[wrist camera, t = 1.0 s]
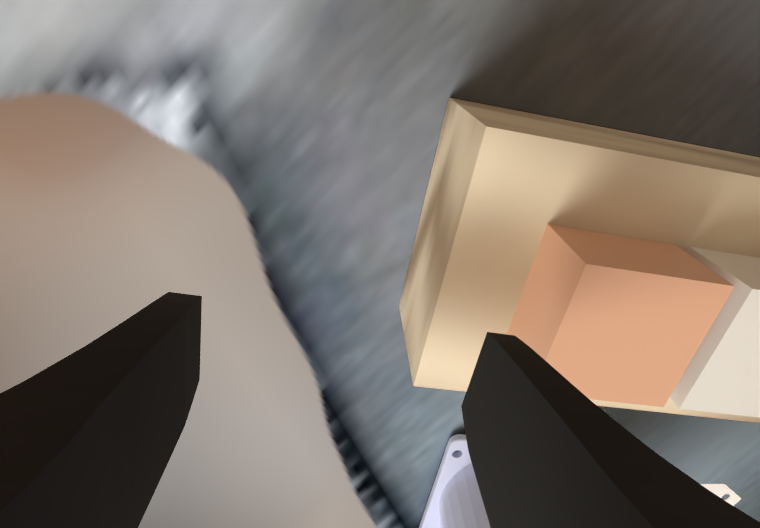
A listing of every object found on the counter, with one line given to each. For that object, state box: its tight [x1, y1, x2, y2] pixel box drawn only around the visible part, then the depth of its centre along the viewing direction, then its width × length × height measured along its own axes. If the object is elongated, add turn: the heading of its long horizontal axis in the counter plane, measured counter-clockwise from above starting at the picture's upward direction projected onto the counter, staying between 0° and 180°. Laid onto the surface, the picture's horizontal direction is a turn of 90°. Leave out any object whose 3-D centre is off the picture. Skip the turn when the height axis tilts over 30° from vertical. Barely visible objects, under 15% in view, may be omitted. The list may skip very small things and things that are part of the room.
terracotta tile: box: [507, 224, 735, 407], centre depth 14 cm, size 4×4×2 cm
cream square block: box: [670, 247, 760, 418], centre depth 14 cm, size 4×4×2 cm
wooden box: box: [399, 97, 760, 423], centre depth 17 cm, size 9×14×5 cm, turn 79°
